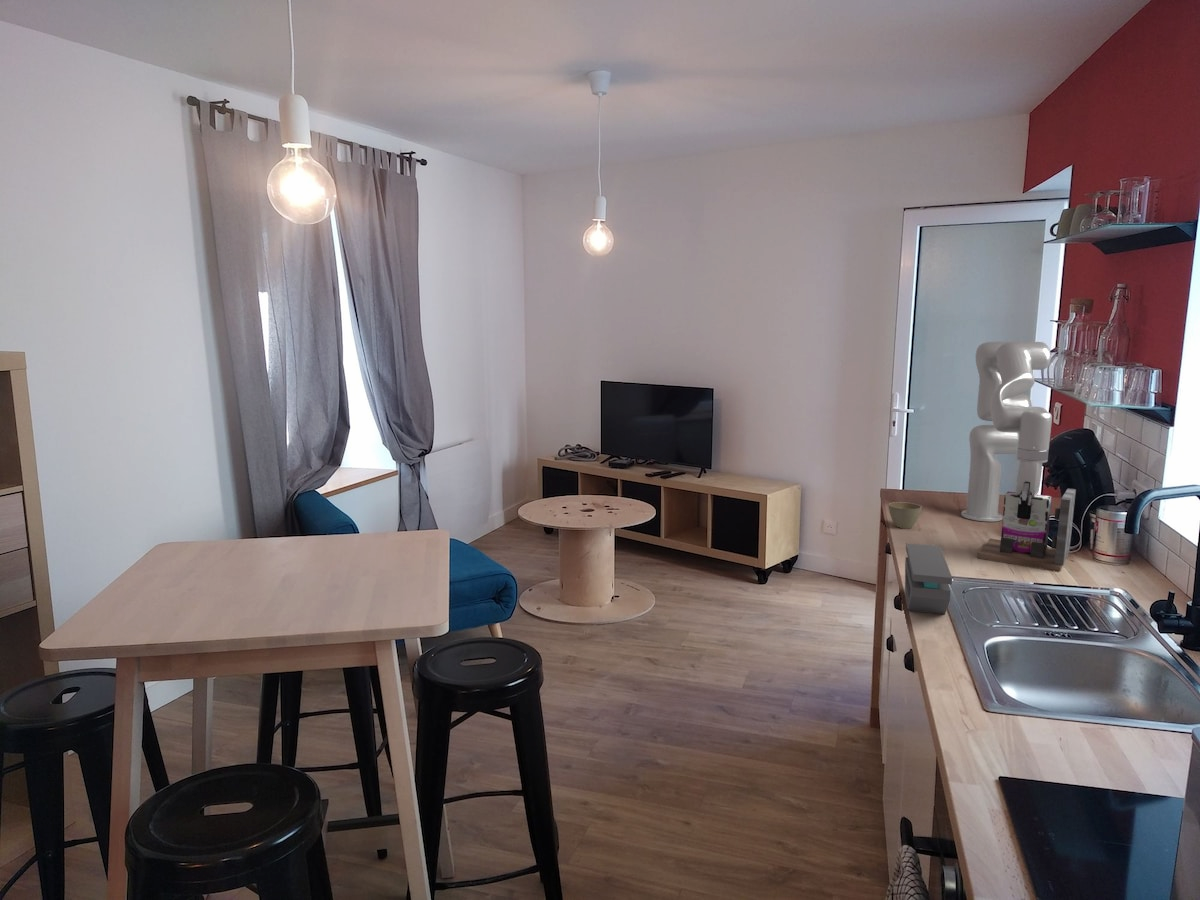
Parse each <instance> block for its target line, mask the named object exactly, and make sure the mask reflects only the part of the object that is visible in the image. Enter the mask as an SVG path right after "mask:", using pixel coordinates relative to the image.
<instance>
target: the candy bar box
mask: <svg viewBox="0 0 1200 900" xmlns="http://www.w3.org/2000/svg"><path fill="white" fill-rule="evenodd" d="M1020 494H1021V493H1020ZM1003 498H1004V499H1003V509H1002V511H1003V512H1002V516H1003V518H1002V522H1001V524H1002V525H1001V535H1000V538H1001V537H1002V538H1009V539H1013V549H1012V551H1014V552H1020V553H1027V554H1030V553H1031V543H1032V542H1035V543H1042V544H1044V553H1043V556H1044V555H1045V554H1046V551H1047V547H1048V543H1047V541H1048V540H1049V529H1050V518H1051V517H1050V516H1051V507H1052V495H1043V494H1036V496H1035V497H1033V498H1032V500H1031V505H1032V507H1031V517H1030V519H1029V520H1028V519H1021V518H1017V512H1018V504H1019V500H1020V495H1018V496H1017V495H1016V494H1015V492H1014V491H1007V492H1006V493H1005V494H1004V497H1003ZM1028 501H1029V499H1028Z"/></svg>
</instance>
